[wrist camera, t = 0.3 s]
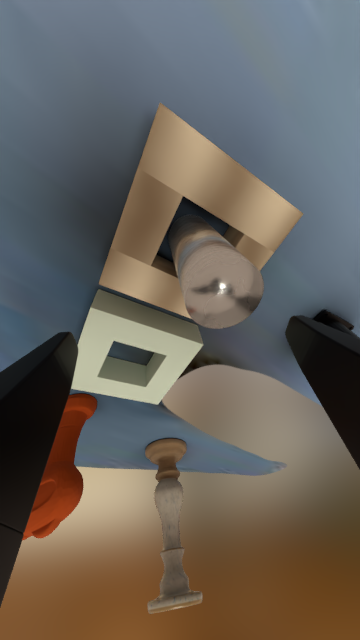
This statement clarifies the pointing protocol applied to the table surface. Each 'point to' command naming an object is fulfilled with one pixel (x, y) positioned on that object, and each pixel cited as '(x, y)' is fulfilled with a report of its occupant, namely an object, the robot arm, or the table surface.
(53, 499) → the toy drill
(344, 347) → the robot arm
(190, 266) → the silver flared cylinder
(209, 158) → the socket block
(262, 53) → the table surface
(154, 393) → the square block with hole
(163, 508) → the candle holder
